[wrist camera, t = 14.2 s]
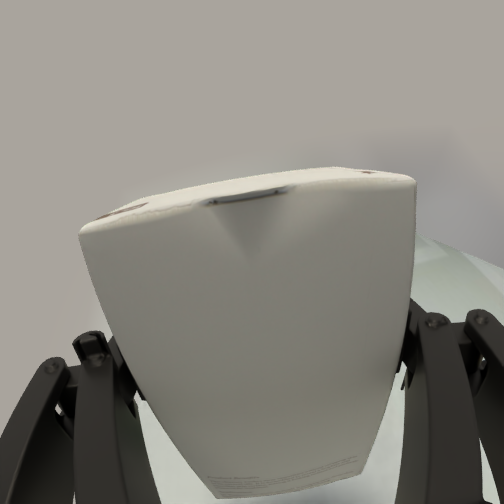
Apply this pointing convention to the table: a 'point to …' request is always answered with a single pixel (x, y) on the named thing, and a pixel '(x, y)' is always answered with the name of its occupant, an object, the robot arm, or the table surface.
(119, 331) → the cosmetic box
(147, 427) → the table surface
